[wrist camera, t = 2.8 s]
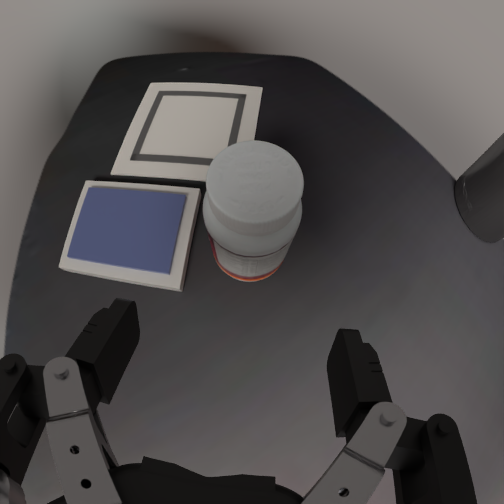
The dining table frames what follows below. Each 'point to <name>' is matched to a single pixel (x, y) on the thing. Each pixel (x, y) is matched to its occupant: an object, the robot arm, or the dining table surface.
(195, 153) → the white flat square slab
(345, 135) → the dining table surface
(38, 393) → the robot arm
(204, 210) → the pill bottle
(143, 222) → the ink pad
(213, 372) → the dining table surface
